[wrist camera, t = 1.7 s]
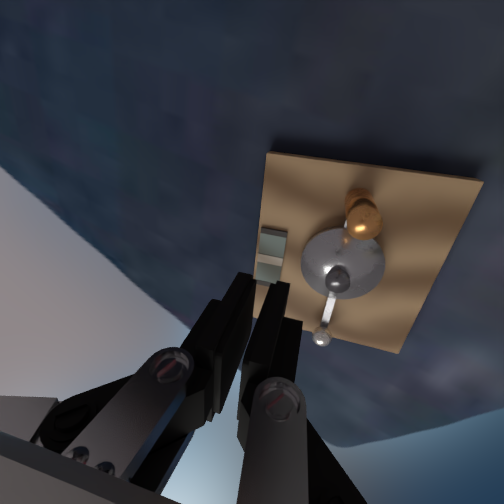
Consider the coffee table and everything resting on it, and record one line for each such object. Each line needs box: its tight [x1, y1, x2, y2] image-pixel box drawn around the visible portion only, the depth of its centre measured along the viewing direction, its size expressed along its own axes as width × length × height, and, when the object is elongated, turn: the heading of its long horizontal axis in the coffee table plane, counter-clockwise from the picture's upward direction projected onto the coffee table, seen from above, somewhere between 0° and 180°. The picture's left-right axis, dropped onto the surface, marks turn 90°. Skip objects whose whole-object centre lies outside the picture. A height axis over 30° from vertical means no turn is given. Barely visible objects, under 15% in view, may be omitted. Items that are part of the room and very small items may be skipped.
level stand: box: [253, 151, 484, 354], centre depth 29 cm, size 20×18×2 cm
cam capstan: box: [301, 188, 385, 346], centre depth 26 cm, size 18×8×6 cm, turn 175°
